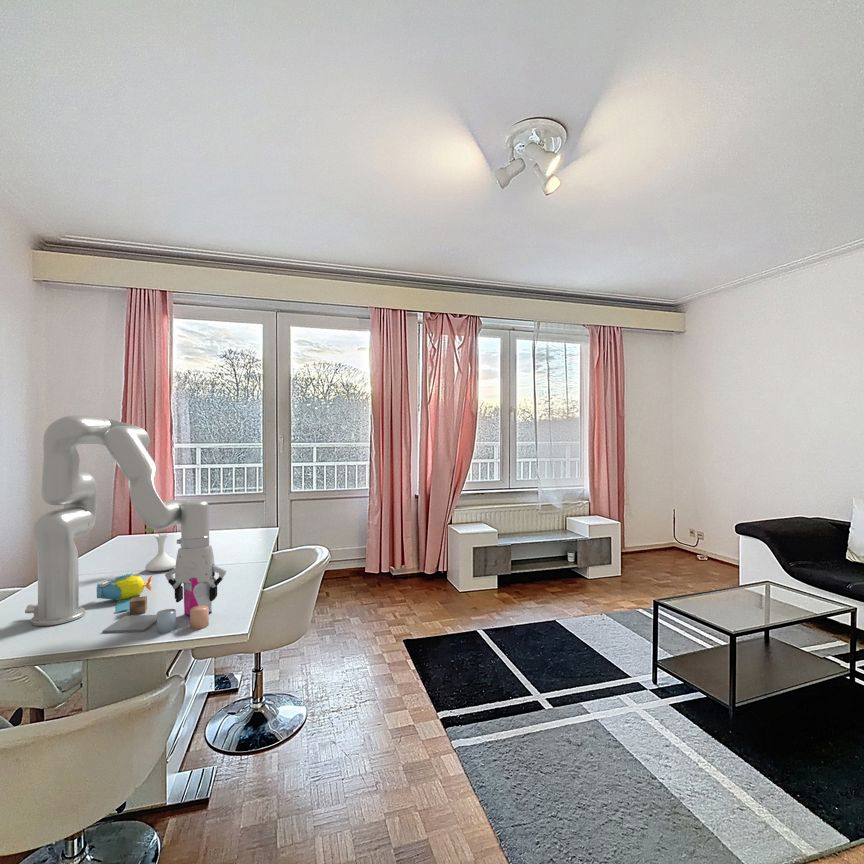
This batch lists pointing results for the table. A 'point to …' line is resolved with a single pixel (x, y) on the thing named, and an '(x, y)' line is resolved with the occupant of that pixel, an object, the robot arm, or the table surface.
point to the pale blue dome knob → (166, 621)
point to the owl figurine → (122, 590)
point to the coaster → (132, 624)
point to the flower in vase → (160, 555)
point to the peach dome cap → (199, 617)
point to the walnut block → (138, 605)
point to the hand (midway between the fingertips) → (196, 600)
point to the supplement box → (196, 595)
